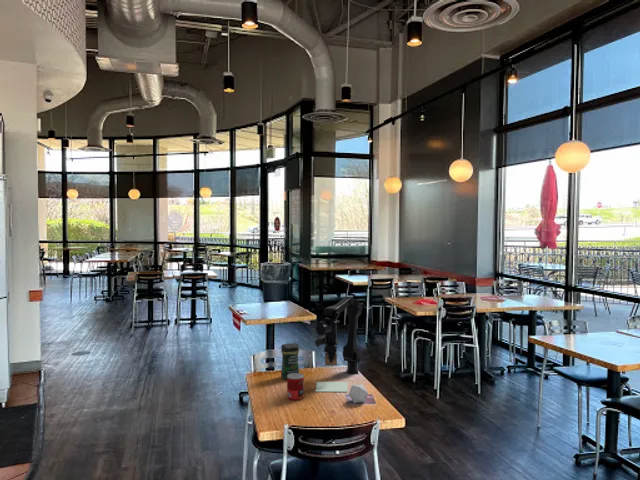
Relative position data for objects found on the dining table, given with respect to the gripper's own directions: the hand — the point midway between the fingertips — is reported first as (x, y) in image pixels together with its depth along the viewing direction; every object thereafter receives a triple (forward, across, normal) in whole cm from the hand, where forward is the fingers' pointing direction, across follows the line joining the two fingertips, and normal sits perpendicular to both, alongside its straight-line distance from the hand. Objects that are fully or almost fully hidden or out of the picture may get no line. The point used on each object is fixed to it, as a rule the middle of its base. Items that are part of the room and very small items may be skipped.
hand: (331, 361), depth 245 cm
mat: (+12, +5, +1) cm, 13 cm away
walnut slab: (+2, 0, 0) cm, 2 cm away
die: (+12, +24, +14) cm, 30 cm away
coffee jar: (+12, -9, -23) cm, 27 cm away
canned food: (+12, +20, -16) cm, 29 cm away
